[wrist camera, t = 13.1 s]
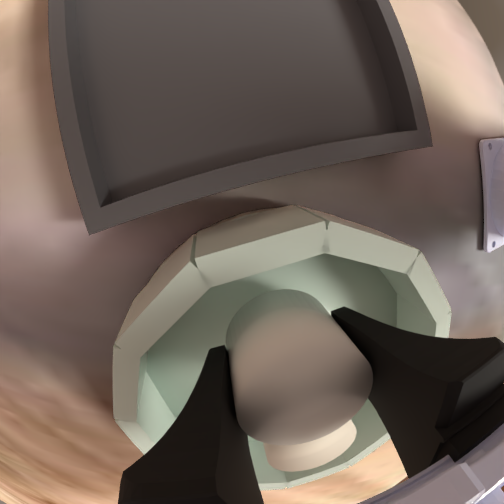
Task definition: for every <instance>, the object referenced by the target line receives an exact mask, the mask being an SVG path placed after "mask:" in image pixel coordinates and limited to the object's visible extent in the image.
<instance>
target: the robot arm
mask: <svg viewBox="0 0 504 504" xmlns="http://www.w3.org/2000/svg"><path fill="white" fill-rule="evenodd" d="M479 150H480V158H481V168H482V180H483V197H484V245H483V247H484V251H485V252H488V253H489V252H491V251H493V250H495V249H497V248H498V247H500V246H502V245H503V244H504V138H493V139H482V140H480V142H479ZM331 316H332V317H333V319H334V320H335V321H336V322H337V323H338V325H339V326H340V327H341V328H342V330H343V331H344V332H345V333H346V334H347V336H348V337H349V338H350V339H351V341H352V342H353V343H354V344H355V346H356V347H357V348H358V349H359V351H360V352H361V353H362V354H363V356H364V357H365V358H366V359H367V361H368V362H369V364H370V366H371V368H372V372H373V384H372V388H371V392H370V394H369V396H368V399H369V400H370V402H371V403H372V405H373V406H374V408H375V409H376V411H377V413H378V415H379V417H380V419H381V420H382V422H383V424H384V426H385V428H386V430H387V432H388V434H389V436H390V438H391V440H392V442H393V444H394V446H395V448H396V450H397V452H398V454H399V457H400V459H401V461H402V463H403V466H404V468H405V471H406V473H407V475H408V478H409V479H408V480H406V481H404V482H402V483H400V484H398V485H396V486H394V487H393V488H391V489H389V490H386V491H384V492H382V493H380V494H378V495H376V496H374V497H372V498H369V499H367V500H365V501H362V502H360V503H358V504H504V493H503V491H502V490H501V487H502V486H503V485H504V384H503V383H504V343H503V342H502V341H500V340H499V339H498V338H496V337H490V338H478V339H453V338H442V337H434V336H428V335H423V334H418V333H414V332H410V331H406V330H403V329H400V328H396V327H393V326H390V325H388V324H385V323H382V322H380V321H377V320H375V319H372V318H370V317H368V316H366V315H363V314H361V313H359V312H356V311H354V310H352V309H350V308H347V307H345V306H343V307H341V308H338V309H335V310H333V311H331ZM118 504H264V502H263V499H262V495H261V492H260V488H259V485H258V481H257V477H256V474H255V470H254V466H253V462H252V458H251V454H250V449H249V442H248V435H247V434H246V433H245V432H244V431H243V430H242V428H241V427H240V425H239V423H238V420H237V416H236V410H235V404H234V397H233V391H232V384H231V377H230V370H229V362H228V355H227V349H226V347H225V345H221V346H218V347H214V348H210V349H209V351H208V354H207V357H206V360H205V363H204V365H203V368H202V370H201V373H200V375H199V378H198V380H197V382H196V385H195V387H194V389H193V391H192V393H191V395H190V397H189V399H188V401H187V402H186V404H185V406H184V408H183V409H182V411H181V412H180V414H179V415H178V417H177V418H176V420H175V421H174V423H173V424H172V425H171V427H170V428H169V429H168V430H167V432H166V433H165V434H164V435H163V436H162V438H161V439H160V440H159V441H158V442H157V443H156V444H155V445H154V446H153V447H152V448H151V449H150V450H149V451H148V452H147V453H146V454H145V455H143V456H142V457H141V458H140V459H139V460H137V461H136V462H135V463H134V464H132V465H131V466H130V467H129V468H127V469H126V470H125V471H123V474H122V478H121V483H120V491H119V500H118Z"/></svg>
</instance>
